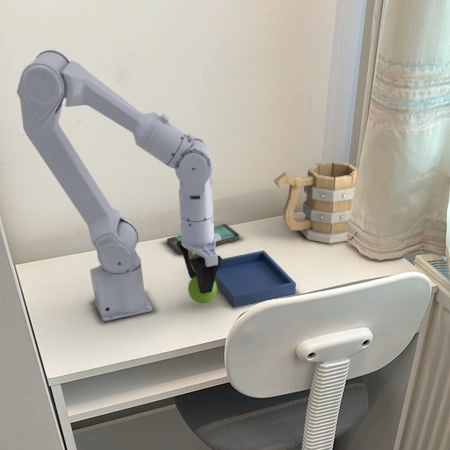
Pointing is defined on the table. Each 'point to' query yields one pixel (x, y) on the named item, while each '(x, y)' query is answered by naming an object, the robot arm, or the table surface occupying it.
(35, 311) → the table surface
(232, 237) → the smartphone
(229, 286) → the tray
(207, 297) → the snail figurine
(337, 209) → the tankard
